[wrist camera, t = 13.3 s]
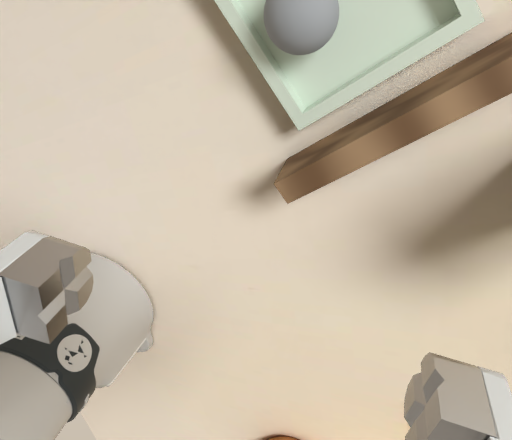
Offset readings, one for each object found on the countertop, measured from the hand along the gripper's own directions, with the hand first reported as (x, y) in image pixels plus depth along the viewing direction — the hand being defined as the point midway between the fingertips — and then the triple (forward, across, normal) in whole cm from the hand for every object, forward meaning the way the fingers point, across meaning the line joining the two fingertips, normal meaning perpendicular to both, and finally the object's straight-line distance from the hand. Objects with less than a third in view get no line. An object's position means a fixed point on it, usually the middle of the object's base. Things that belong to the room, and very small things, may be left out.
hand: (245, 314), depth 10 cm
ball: (+24, +4, -4) cm, 24 cm away
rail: (+26, -5, +2) cm, 27 cm away
